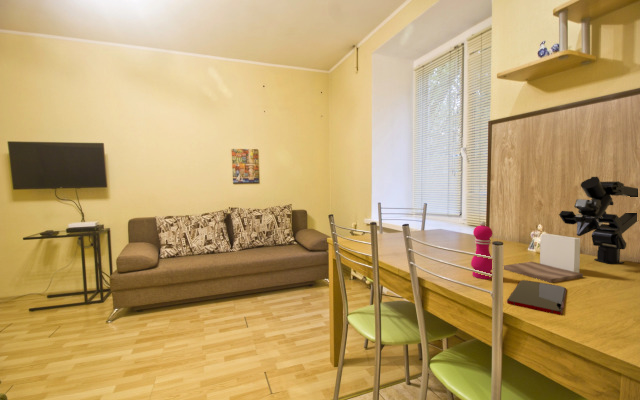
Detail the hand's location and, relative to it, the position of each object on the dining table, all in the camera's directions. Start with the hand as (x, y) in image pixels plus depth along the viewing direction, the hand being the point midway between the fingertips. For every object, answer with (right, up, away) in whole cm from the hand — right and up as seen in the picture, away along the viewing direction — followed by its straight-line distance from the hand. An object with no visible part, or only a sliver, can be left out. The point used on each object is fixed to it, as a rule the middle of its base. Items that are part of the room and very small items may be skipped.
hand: (578, 235), depth 117 cm
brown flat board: (-19, -13, -6) cm, 24 cm away
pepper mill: (-42, -14, -9) cm, 46 cm away
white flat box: (-10, -13, -3) cm, 16 cm away
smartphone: (-36, -15, -28) cm, 48 cm away
